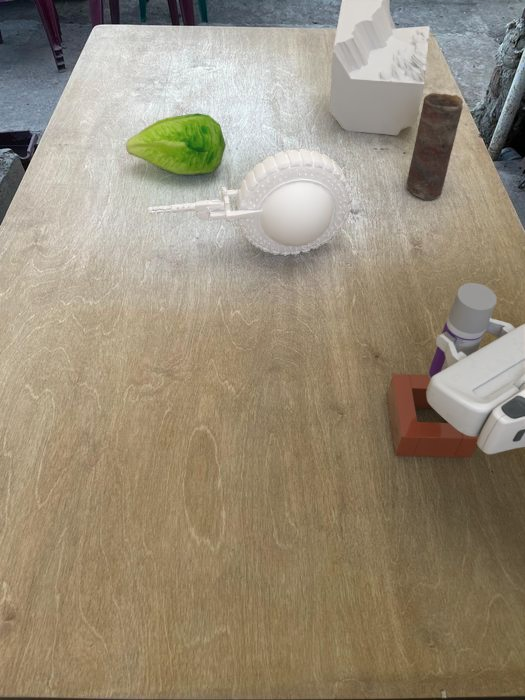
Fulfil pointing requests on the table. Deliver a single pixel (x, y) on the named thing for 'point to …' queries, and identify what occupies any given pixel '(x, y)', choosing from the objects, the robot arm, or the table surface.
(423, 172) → the rusty brown cylinder
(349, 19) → the white carved sculpture block
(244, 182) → the tracked sphere vehicle
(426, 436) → the holder
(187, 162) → the lettuce
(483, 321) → the container
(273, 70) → the table surface
